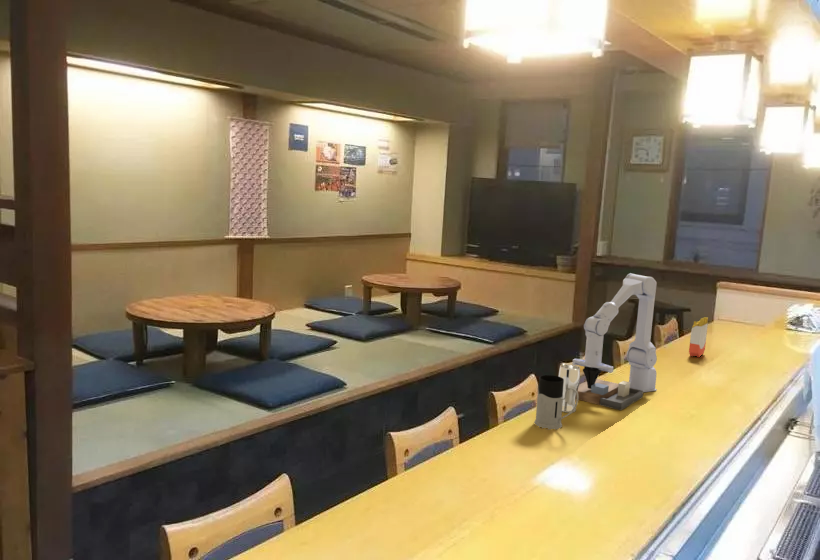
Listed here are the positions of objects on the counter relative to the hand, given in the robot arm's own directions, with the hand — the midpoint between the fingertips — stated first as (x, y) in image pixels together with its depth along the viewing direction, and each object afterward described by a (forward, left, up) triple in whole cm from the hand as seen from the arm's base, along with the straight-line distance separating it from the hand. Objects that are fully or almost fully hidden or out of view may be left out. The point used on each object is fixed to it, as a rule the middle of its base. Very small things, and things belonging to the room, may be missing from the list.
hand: (590, 388), depth 244 cm
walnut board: (-5, -2, -4) cm, 7 cm away
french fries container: (-92, -34, -4) cm, 98 cm away
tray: (-9, +6, -4) cm, 12 cm away
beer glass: (+16, +7, -4) cm, 18 cm away
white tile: (-12, +2, 0) cm, 12 cm away
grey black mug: (+30, +19, -4) cm, 36 cm away
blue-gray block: (-1, +3, -1) cm, 3 cm away
